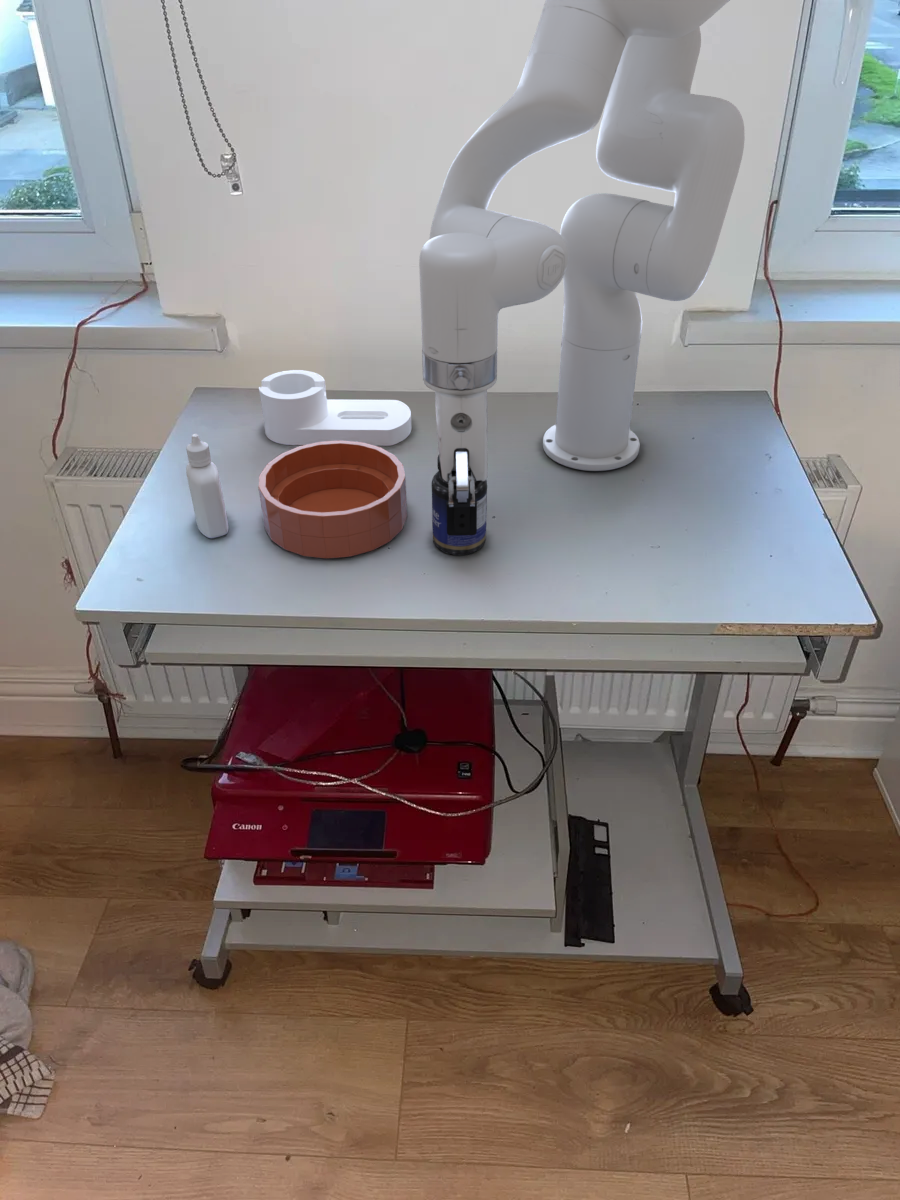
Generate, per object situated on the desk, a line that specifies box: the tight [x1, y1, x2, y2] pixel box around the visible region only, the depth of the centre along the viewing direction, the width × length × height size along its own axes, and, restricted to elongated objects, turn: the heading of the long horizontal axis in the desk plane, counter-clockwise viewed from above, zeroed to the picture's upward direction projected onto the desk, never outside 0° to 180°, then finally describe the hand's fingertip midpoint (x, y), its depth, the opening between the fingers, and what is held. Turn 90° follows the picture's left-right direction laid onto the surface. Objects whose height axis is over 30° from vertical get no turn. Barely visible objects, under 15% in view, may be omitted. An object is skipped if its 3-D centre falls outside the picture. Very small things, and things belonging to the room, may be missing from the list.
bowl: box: [257, 440, 408, 559], centre depth 110 cm, size 17×17×6 cm
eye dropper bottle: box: [185, 433, 230, 539], centre depth 107 cm, size 4×6×12 cm
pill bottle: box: [431, 450, 488, 556], centre depth 105 cm, size 6×6×11 cm
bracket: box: [258, 369, 412, 447], centre depth 127 cm, size 20×9×7 cm, turn 88°
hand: (460, 510), depth 106 cm, fingers open, 8 cm apart
